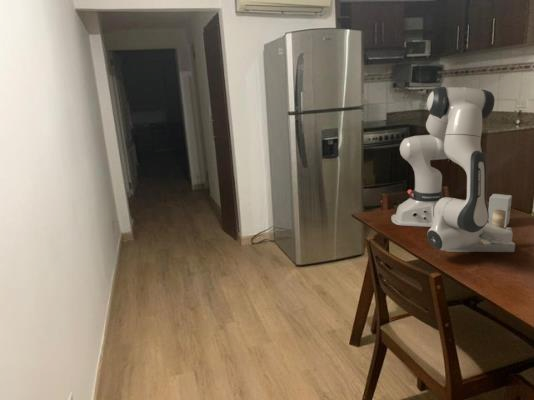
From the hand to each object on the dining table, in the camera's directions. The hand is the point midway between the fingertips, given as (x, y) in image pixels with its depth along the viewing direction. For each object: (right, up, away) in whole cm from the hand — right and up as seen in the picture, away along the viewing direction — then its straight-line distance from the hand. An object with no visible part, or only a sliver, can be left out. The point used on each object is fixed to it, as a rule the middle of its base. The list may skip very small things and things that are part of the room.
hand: (498, 225), depth 144 cm
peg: (0, -8, +2) cm, 8 cm away
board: (-7, -8, +3) cm, 11 cm away
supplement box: (+15, -1, +25) cm, 29 cm away
